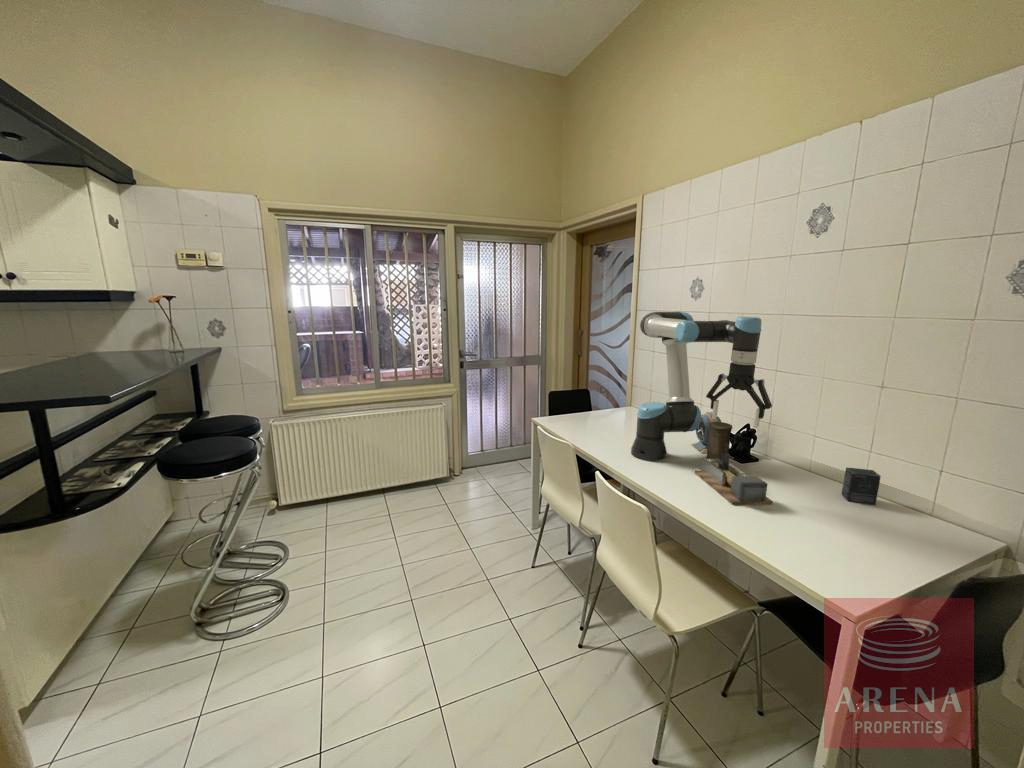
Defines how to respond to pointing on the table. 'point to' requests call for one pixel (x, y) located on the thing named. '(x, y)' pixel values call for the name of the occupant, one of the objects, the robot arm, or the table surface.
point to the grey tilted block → (719, 470)
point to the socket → (748, 488)
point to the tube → (725, 466)
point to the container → (718, 439)
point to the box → (860, 485)
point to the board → (726, 490)
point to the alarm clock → (704, 432)
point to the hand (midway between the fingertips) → (734, 422)
